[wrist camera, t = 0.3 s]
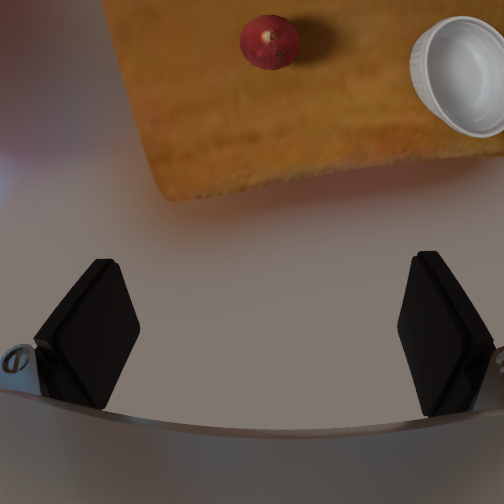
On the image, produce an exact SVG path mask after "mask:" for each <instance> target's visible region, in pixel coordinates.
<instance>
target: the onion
mask: <svg viewBox="0 0 504 504" xmlns="http://www.w3.org/2000/svg"><path fill="white" fill-rule="evenodd" d="M240 48H241V51H242V53H243V55H244V57H245V58H246V59H247V60H248V61H249V62H250V63H251V64H252V65H254V66H256V67H259V68H261V69H267V70H277V69H280V68H283V67H285V66H288V65H289V64H290V63H291V62H292V61H293V60H294V59H295V58H296V57H297V54H298V51H299V48H300V38H299V34H298V32H297V30H296V29H295V27H294V26H293V25H292V24H291V23H290V22H289V21H288V20H287V19H286V18H283V17H279V16H276V15H263V16H260V17H258V18H255V19H253V20H252V21H250V22H249V23H248V24H247V25H246V26H245V27H244V28H243V31H242V33H241V35H240Z"/></svg>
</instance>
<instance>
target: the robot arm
mask: <svg viewBox="0 0 504 504" xmlns="http://www.w3.org/2000/svg"><path fill="white" fill-rule="evenodd" d="M397 329H398V334H399V337H400V340H401V343H402V346H403V349H404V352H405V355H406V358H407V362H408V365H409V368H410V371H411V375H412V378H413V381H414V385H415V388H416V392H417V395H418V399H419V403H420V406H421V410H422V413H423V415H424V416H428V418H425V419H418V420H412V421H404V422H397V423H388V424H380V425H371V426H360V427H348V428H331V429H306V430H304V429H303V430H266V429H239V428H223V427H210V426H198V425H189V424H180V423H172V422H165V421H158V420H151V419H145V418H139V417H132V416H126V415H122V414H117V413H112V412H107V411H102V410H101V409H104V408H105V407H106V406H107V403H108V401H109V399H110V396H111V394H112V392H113V390H114V387H115V385H116V383H117V381H118V379H119V376H120V374H121V372H122V370H123V368H124V365H125V363H126V361H127V359H128V357H129V355H130V352H131V350H132V348H133V346H134V344H135V342H136V340H137V338H138V336H139V333H140V325H139V321H138V318H137V316H136V313H135V310H134V307H133V305H132V302H131V299H130V296H129V293H128V290H127V288H126V284H125V282H124V279H123V276H122V272H121V269H120V266H119V265H118V263H115V261H114V260H113V259H96V260H95V261H94V262H93V263H92V264H91V265H90V267H89V268H88V269H87V270H86V271H85V273H84V274H83V275H82V276H81V277H80V279H79V280H78V281H77V282H76V283H75V285H74V286H73V287H72V288H71V290H70V291H69V292H68V293H67V295H66V296H65V297H64V298H63V300H62V301H61V302H60V304H59V305H58V306H57V307H56V309H55V310H54V311H53V313H52V314H51V315H50V317H49V318H48V319H47V320H46V322H45V323H44V324H43V326H42V327H41V329H40V330H39V331H38V333H37V334H36V335H35V337H34V341H35V342H36V344H37V348H36V349H34V348H33V347H32V346H31V345H29V344H19V345H16V346H14V347H12V348H10V349H9V350H8V351H7V352H6V353H5V354H4V355H3V356H2V358H1V360H0V504H504V346H503V347H500V348H498V349H496V347H495V345H494V344H493V341H494V340H493V338H492V336H491V334H490V333H489V331H488V329H487V327H486V326H485V324H484V322H483V321H482V319H481V317H480V315H479V314H478V312H477V311H476V309H475V307H474V306H473V304H472V302H471V301H470V299H469V298H468V296H467V295H466V293H465V291H464V290H463V288H462V287H461V285H460V284H459V282H458V281H457V280H456V278H455V276H454V275H453V274H452V272H451V271H450V269H449V267H448V266H447V265H446V263H445V262H444V260H443V259H442V257H441V256H440V255H439V253H438V252H437V251H420V252H418V254H417V256H414V257H413V258H412V262H411V266H410V272H409V276H408V281H407V286H406V290H405V295H404V299H403V304H402V307H401V311H400V316H399V319H398V325H397Z"/></svg>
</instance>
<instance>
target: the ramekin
mask: <svg viewBox="0 0 504 504" xmlns="http://www.w3.org/2000/svg"><path fill="white" fill-rule="evenodd" d="M410 75H411V80H412V82H413V86H414V88H415V90H416V93H417V94H418V96H419V98H420V99H421V100H422V102H423V103H424V105H426V106H427V108H428V109H429V110H430V111H432V112H433V113H434V114H435V115H436V116H438V117H439V118H441V119H442V120H444V121H445V122H446V123H447V124H448V125H449V126H450V127H452V128H453V129H455V130H457V131H458V132H460V133H463V134H465V135H469V136H472V137H478V138H485V137H491V136H494V135H496V134H498V133H500V132H501V131H503V130H504V38H503V37H502V36H501V34H500V33H499V32H498V31H496V30H495V29H494V28H493V27H492V26H490V25H489V24H487V23H485V22H483V21H481V20H479V19H477V18H473V17H468V16H456V17H450V18H447V19H444V20H442V21H440V22H438V23H437V24H436V25H434V26H433V27H432V28H430V29H429V30H427V31H426V32H425V33H423V34H422V35H421V36H420V38H419V39H418V40H417V42H416V43H415V45H414V47H413V49H412V53H411V57H410Z"/></svg>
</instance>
